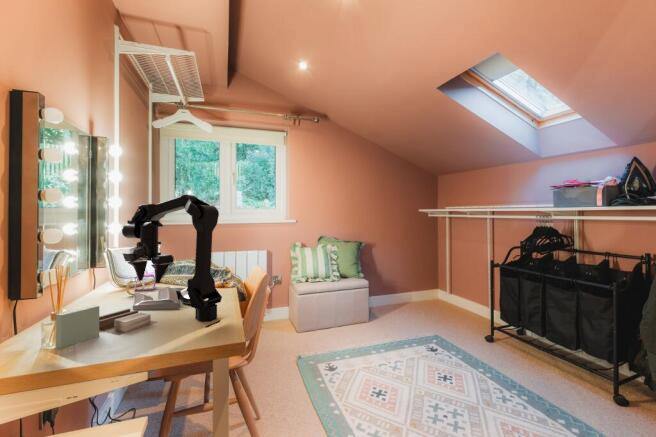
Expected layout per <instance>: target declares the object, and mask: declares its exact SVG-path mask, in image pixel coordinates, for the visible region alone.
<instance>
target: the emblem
mask: <svg viewBox="0 0 656 437" xmlns="http://www.w3.org/2000/svg"><path fill="white" fill-rule="evenodd" d="M187 288H188V287H179V286H178V287H177V286H166V287H163V288H159V290H158V294H157V299H154V298H153V297H152V296H151V295H146V294H144V293H141V294H138V295H136V296H134V301H133V305H132V311H135V310H138V311H157V310H159V311H160V310H161V311H163V310H164V311H165V310H170V311H171V310H179V308H180V306H179V300H181V302H182V304H187V305H191V302H190V298H189V296H188V292H187Z"/></svg>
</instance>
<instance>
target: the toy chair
mask: <svg viewBox="0 0 656 437" xmlns="http://www.w3.org/2000/svg"><path fill="white" fill-rule="evenodd" d="M150 277H151V278H153V280H154V283H153V286H152V289H153V290H155V287H156V280H155V273H154V272H149V273H144V277H143V278H150ZM136 278H137V279H138V277H137V276H136ZM137 284H138V281H137V282H135V286H134V289H133V293H135V292H136V289H137Z"/></svg>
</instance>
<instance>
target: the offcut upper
mask: <svg viewBox="0 0 656 437" xmlns="http://www.w3.org/2000/svg"><path fill="white" fill-rule="evenodd" d="M151 315H152V314H150V313H146V312H138V313H136V314H133V315H129V316H126V317H122V318H119V319H116V320H114V325H117V326H122V327H128V326H131V325H134V324H137V323H140V322H143V321H146V320H149V319H151Z"/></svg>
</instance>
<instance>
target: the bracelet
mask: <svg viewBox="0 0 656 437" xmlns="http://www.w3.org/2000/svg"><path fill="white" fill-rule="evenodd" d="M136 282H137V283H140V284H141V285H142V289H141V291H139V292H138V293H135V292H134V293H132V292H130V290H129V286H130V285H131V284H134V283H136ZM125 290H126V293H127V294H128V295H131V296H134V297H135V296H136V295H138V294H143V292H144V290H145V283H144V282H143V280H141V281H139V279H137V277H134V278H131V279H130V280H129V281H128V282H127V284H126V287H125Z"/></svg>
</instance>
